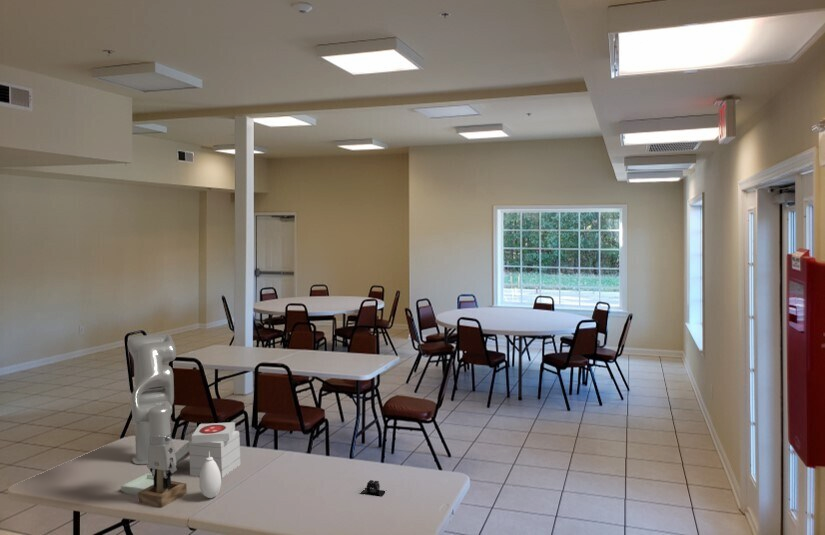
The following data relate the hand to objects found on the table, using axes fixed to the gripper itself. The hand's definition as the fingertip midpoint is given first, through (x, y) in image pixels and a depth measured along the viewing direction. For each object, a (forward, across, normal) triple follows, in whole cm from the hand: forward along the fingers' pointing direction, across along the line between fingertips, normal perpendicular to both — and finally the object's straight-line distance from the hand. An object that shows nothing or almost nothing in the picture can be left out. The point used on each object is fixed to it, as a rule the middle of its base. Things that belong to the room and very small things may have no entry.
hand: (162, 485), depth 226 cm
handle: (+5, 0, 0) cm, 5 cm away
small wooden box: (+5, 0, 0) cm, 5 cm away
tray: (+5, +14, -5) cm, 16 cm away
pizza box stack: (+5, +5, -28) cm, 29 cm away
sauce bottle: (+5, -17, -7) cm, 19 cm away
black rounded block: (+6, -74, -32) cm, 81 cm away
